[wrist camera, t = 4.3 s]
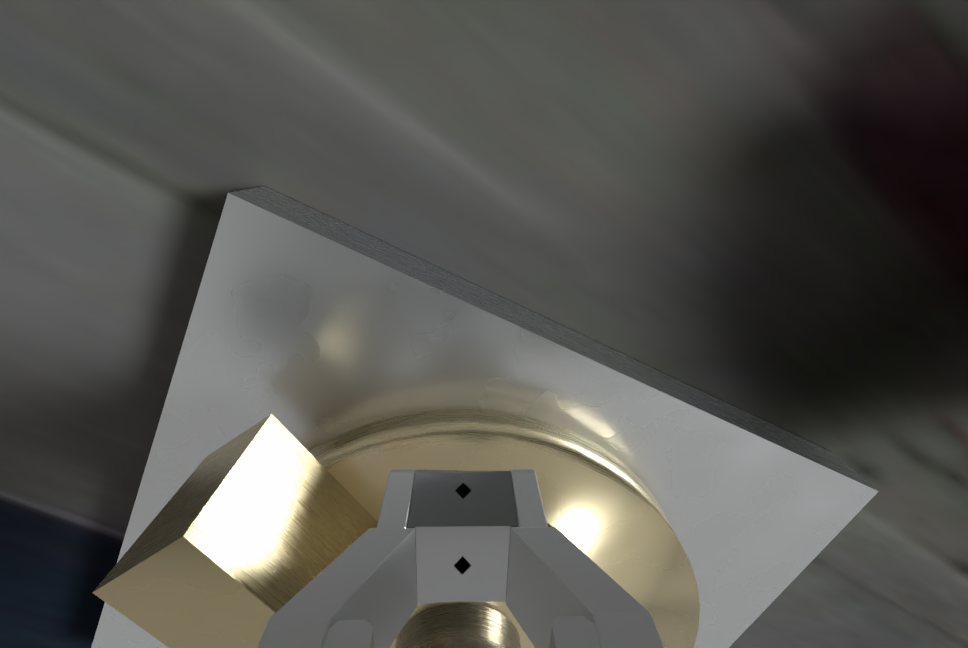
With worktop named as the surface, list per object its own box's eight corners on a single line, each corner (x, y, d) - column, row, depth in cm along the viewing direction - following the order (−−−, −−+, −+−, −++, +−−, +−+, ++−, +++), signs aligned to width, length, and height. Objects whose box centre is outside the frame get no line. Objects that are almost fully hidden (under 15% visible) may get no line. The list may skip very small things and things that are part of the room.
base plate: (121, 625, 18) (-81, 907, 11) (264, 186, 12) (33, 229, 6) (570, 745, 21) (617, 1005, 15) (830, 451, 16) (1081, 659, 10)
